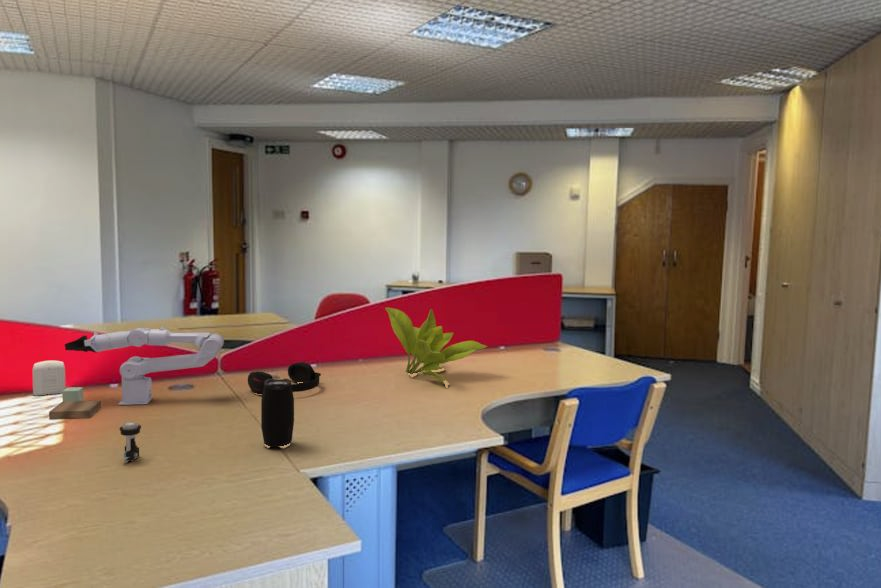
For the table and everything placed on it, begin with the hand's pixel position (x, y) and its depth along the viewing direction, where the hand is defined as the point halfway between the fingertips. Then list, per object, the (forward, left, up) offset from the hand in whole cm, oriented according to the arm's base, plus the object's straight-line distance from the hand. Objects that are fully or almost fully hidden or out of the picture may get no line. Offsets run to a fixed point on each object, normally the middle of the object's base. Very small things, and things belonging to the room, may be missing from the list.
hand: (69, 347), depth 225 cm
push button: (-33, +58, -20) cm, 70 cm away
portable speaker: (-72, +51, -20) cm, 91 cm away
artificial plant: (-132, -25, -20) cm, 136 cm away
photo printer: (+12, -14, -20) cm, 27 cm away
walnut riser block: (-5, +12, -20) cm, 24 cm away
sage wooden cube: (0, -1, -20) cm, 20 cm away
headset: (-72, -14, -20) cm, 76 cm away
